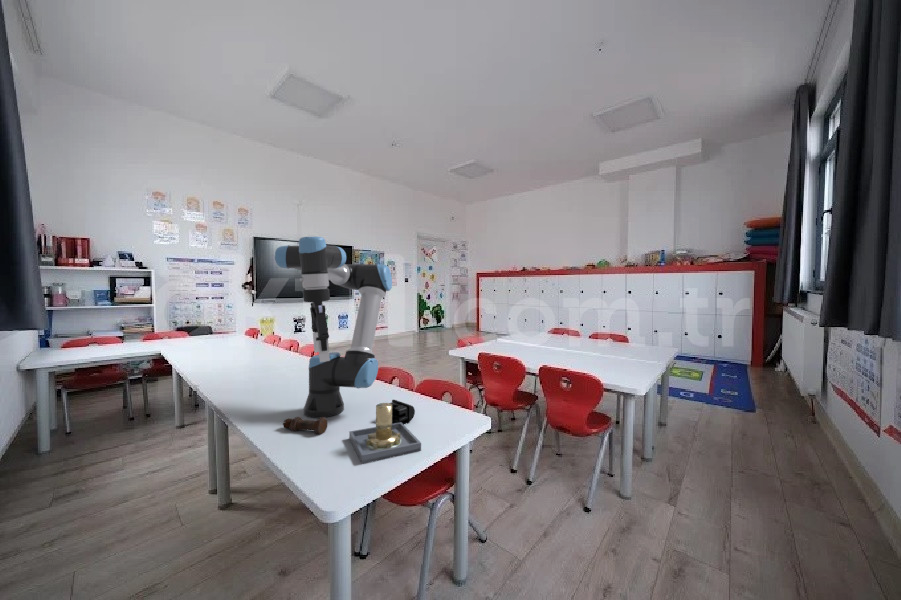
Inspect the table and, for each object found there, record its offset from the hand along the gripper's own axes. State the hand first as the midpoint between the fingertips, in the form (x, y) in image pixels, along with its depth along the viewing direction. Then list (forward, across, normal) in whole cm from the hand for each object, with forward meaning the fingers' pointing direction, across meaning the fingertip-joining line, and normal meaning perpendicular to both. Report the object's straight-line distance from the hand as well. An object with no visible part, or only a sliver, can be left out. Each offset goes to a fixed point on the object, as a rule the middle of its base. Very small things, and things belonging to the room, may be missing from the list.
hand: (321, 356), depth 104 cm
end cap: (+31, -8, +26) cm, 42 cm away
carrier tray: (+29, +9, +15) cm, 34 cm away
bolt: (+29, -14, -6) cm, 32 cm away
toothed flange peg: (+28, +9, +15) cm, 34 cm away
